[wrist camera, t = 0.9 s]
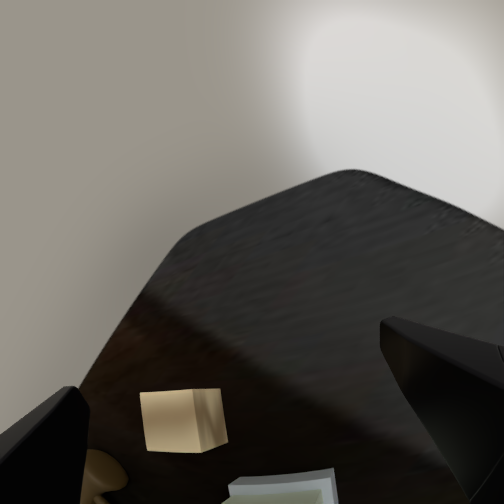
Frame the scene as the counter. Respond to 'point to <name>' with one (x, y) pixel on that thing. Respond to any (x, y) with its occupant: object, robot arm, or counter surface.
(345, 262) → the counter surface
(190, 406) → the maple cube
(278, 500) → the sage block
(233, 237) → the counter surface
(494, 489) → the robot arm
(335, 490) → the base block
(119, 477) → the kendama
